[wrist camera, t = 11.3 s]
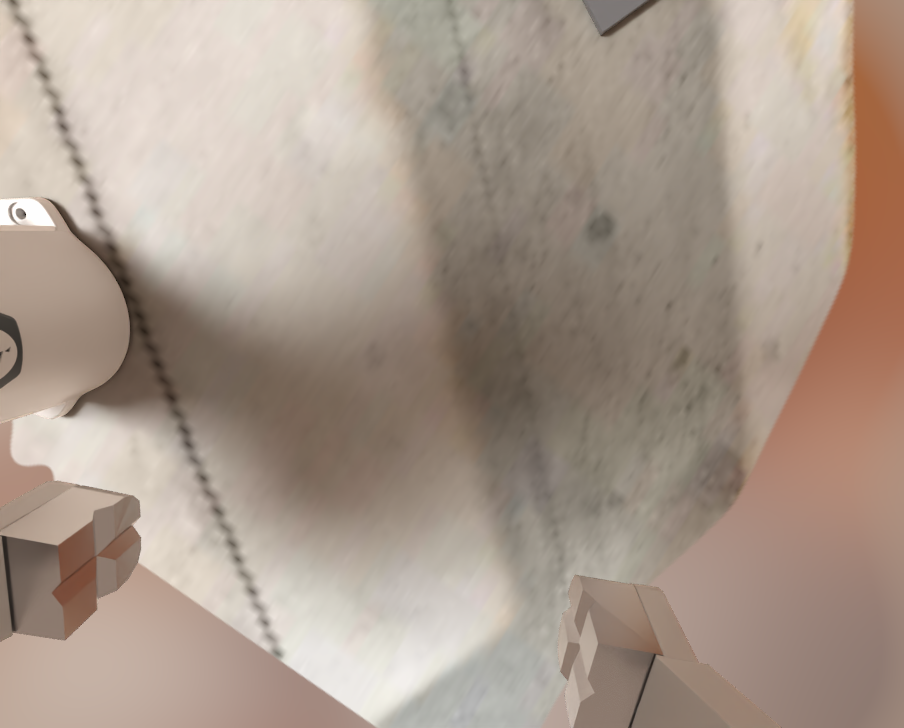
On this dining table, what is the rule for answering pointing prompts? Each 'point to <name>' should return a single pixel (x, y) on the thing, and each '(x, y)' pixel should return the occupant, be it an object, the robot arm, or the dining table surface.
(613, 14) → the mat
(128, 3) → the dining table surface
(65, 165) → the dining table surface
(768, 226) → the dining table surface
